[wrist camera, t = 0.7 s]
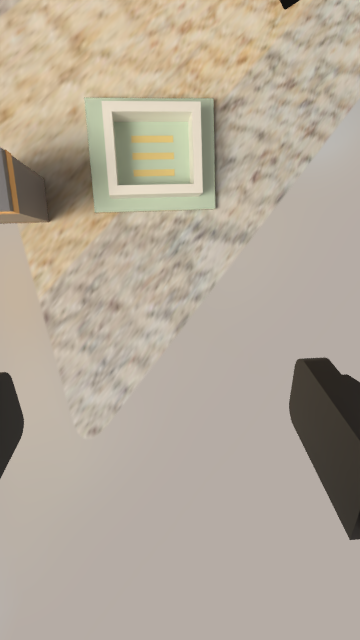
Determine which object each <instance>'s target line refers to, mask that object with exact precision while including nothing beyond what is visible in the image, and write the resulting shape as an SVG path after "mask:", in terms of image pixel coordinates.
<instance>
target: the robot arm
mask: <svg viewBox="0 0 360 640" xmlns="http://www.w3.org/2000/svg"><path fill="white" fill-rule="evenodd" d="M289 409H290V416H291V420H292V423H293V425H294V428H295V429H296V431H297V434H298V436H299V437H300V440H301V442H302V444H303V446H304V448H305V450H306V452H307V454H308V456H309V458H310V460H311V462H312V464H313V466H314V468H315V470H316V472H317V474H318V476H319V478H320V480H321V482H322V484H323V486H324V488H325V490H326V492H327V494H328V496H329V498H330V500H331V502H332V504H333V506H334V508H335V511H336V512H337V515H338V517H339V519H340V521H341V523H342V525H343V527H344V529H345V531H346V533H347V535H348V537H349V539H350V540H355V539H360V382H358V381H357V380H355V379H354V378H352V377H351V376H349V375H341V374H340V372H339V371H338V370H337V369H336V368H335V366H334V365H333V364H332V363H331V361H330V360H329V359H327V358H307V359H298V360H297V362H296V364H295V369H294V376H293V382H292V389H291V395H290V402H289ZM23 427H24V419H23V414H22V410H21V407H20V404H19V401H18V397H17V394H16V391H15V387H14V384H13V381H12V378H11V376H10V375H9V374H8V373H6V372H2V373H0V478H1V476H2V474H3V472H4V470H5V468H6V466H7V464H8V462H9V460H10V459H11V457H12V454H13V453H14V450H15V449H16V447H17V444H18V443H19V441H20V439H21V436H22V433H23Z"/></svg>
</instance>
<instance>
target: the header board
mask: <svg viewBox="0 0 360 640" xmlns="http://www.w3.org/2000/svg"><path fill="white" fill-rule="evenodd" d="M84 100H85V111H86V122H87V132H88V143H89V154H90V165H91V176H92V187H93V198H94V208H95V213H112V212H146V211H179V210H213V209H215V165H214V105H213V99H211V98H84Z"/></svg>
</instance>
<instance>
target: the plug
mask: <svg viewBox="0 0 360 640" xmlns="http://www.w3.org/2000/svg"><path fill="white" fill-rule="evenodd" d="M37 222H49V217H48V209H47V201H46V192H45V184H44V179H43V178H42V177H41V176H39V175H38V174H37V173H35V172H34V171H32V170H31V169H30V168H28V167H27V166H26V165H24V164H23V163H21V162H20V161H19V160H17V159H16V158H15V157H13V156H12V155H11V153H9V152H8V151H7V150H3V149H2V148H0V224H5V223H37Z"/></svg>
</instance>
